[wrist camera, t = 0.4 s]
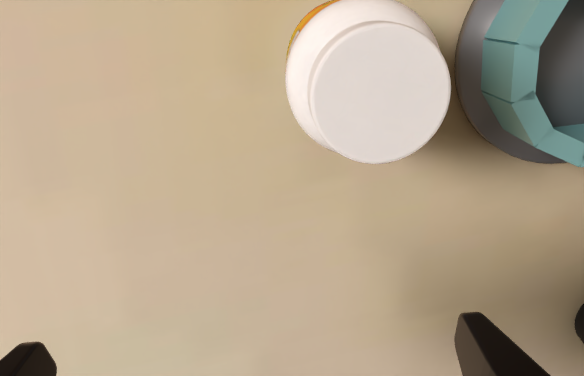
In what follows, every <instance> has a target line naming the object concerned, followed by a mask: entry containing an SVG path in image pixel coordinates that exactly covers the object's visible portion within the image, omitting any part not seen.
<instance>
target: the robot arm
mask: <svg viewBox="0 0 584 376" xmlns="http://www.w3.org/2000/svg"><path fill="white" fill-rule="evenodd" d="M455 348H456V352H457V356H458V360H459V363H460V367H461V371H462V375H463V376H550V375H549V374H548V373H547V372H546V371H545V370H544V369H543V368H542V367H541V366H539V365H538V364H537V363H536V362H535V361H534V360H533V359H532V358H531V357H529V356H528V355H527V354H526V353H525V352H524V351H523V350H522V349H521V348H520V347H518V346H517V345H516V344H515V343H514V342H513V341H512V340H511V339H510V338H509V337H507V336H506V335H505V334H504V333H503V332H502V331H501V330H500V329H499V328H498V327H496V326H495V325H494V324H493V323H492V322H491V321H490V320H489V319H488V318H487V317H485V316H484V315H483V314H481V313H479V312H470V313H462V314H460V316H459V318H458V323H457V328H456V333H455ZM56 373H57V367H56V363H55V361H54V360H53V358H52V357H51V355H50V354H49V352H48V350H47V349H46V347H45V346H44V344H43V343H41V342H26V343H21V344H19V345H18V346H16V347H15V348H14V349H13V350H12V351H10V352H9V353H8V354H7V355H6V356H5V357H3V358H2V359H1V360H0V376H56Z"/></svg>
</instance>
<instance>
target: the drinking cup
mask: <svg viewBox="0 0 584 376" xmlns="http://www.w3.org/2000/svg"><path fill="white" fill-rule="evenodd" d="M575 330H576V333H577V335H578V336H579V338H580V339H581V341H582V342H583V343H584V304H583V305H582V307H581V308H580V310H579V311H578V313H577V316H576V319H575Z"/></svg>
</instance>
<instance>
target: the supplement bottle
mask: <svg viewBox="0 0 584 376" xmlns="http://www.w3.org/2000/svg"><path fill="white" fill-rule="evenodd" d="M285 80H286V91H287V96H288V100H289V104H290V107H291V110H292V112H293V115H294V116H295V118H296V120H297V122H298V123H299V125H300V126H301V128H302V129H303V130H304V131H305V132H306V134H307V135H308V136H310V137H311V138H312V139H313V140H314V141H316V142H317V143H318V144H320V145H321V146H323V147H325V148H327V149H329V150H332V151H334V152H337V153H339V154H341V155H342V156H344V157H346V158H348V159H351V160H354V161H357V162H361V163H368V164H384V163H390V162H393V161H397V160H400V159H402V158H405V157H407V156H409V155H411V154H413V153H414V152H416V151H417V150H419V149H420V148H421V147H423V146H424V145H425V144H426V143H427V142H428V141H429V140H430V139H431V138H432V137H433V135H434V134H435V133H436V132H437V130H438V129H439V127H440V126H441V124H442V122H443V120H444V118H445V115H446V113H447V110H448V106H449V102H450V95H451V79H450V74H449V70H448V66H447V64H446V61H445V59H444V57H443V55H442V53H441V52H440V48H439V45H438V43H437V40H436V38H435V36H434V34H433V33H432V31H431V29H430V28H429V26H428V25H427V24H426V23H425V21H424V20H423V19H422V18H421V17H420V16H419V15H418V14H417V13H416V12H414V11H413V10H412V9H410V8H409V7H407V6H405V5H403V4H401V3H399V2H397V1H395V0H332V1H329V2H326V3H324V4H322V5H320V6H318V7H316V8H315V9H313V10H312V11H310V12H309V13H308V14H307V15H306V16H305V17H304V18H303V19H302V20H301V21H300V23H299V24H298V26H297V27H296V29H295V31H294V33H293V35H292V37H291V40H290V43H289V46H288V51H287V58H286V76H285Z"/></svg>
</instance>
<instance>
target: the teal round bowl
mask: <svg viewBox="0 0 584 376" xmlns="http://www.w3.org/2000/svg"><path fill="white" fill-rule="evenodd" d="M455 82H456V88H457V93H458V97H459V100H460V103H461V106H462V108H463V110H464V112H465V114H466V116H467V118H468V120H469V121H470V123H471V124H472V125H473V127H474V128H475V129H476V130H477V131H478V132H479V133H480V134H481V135H482V136H483V138H485V139H486V140H487V141H489V142H490V143H491V144H493V145H494V146H496V147H497V148H499V149H500V150H502V151H504V152H506V153H508V154H510V155H511V156H514V157H517V158H520V159H523V160H526V161H531V162H536V163H550V164H552V163H566V162H569V163H571V164H573V165H575V166H578V167H579V166H580V167H584V0H474V1H473V2H472V4H471V6H470V8H469V11H468V13H467V15H466V17H465V19H464V22H463V25H462V28H461V31H460V34H459V38H458V43H457V48H456V55H455Z"/></svg>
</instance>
